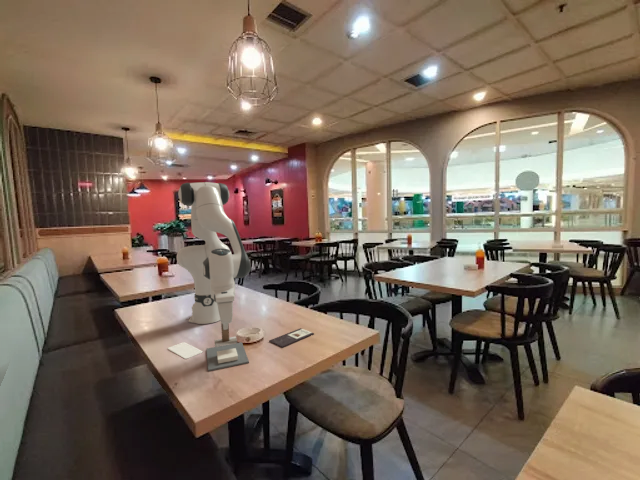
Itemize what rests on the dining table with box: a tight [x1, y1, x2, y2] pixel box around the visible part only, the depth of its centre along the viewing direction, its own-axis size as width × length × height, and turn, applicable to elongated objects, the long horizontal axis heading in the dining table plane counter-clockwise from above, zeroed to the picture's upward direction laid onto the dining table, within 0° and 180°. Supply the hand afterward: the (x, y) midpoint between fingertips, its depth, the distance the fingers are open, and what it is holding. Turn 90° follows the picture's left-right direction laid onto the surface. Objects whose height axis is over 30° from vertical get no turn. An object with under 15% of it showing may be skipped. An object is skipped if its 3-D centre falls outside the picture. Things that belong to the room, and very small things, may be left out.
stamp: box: [214, 322, 238, 347], centre depth 115 cm, size 4×8×10 cm, turn 112°
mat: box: [206, 341, 250, 372], centre depth 116 cm, size 18×14×1 cm
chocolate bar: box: [268, 327, 315, 349], centre depth 131 cm, size 9×1×18 cm
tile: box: [217, 348, 238, 364], centre depth 113 cm, size 2×7×7 cm
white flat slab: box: [167, 341, 203, 360], centre depth 121 cm, size 7×1×15 cm
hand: (225, 327), depth 115 cm, fingers closed on stamp, 2 cm apart
